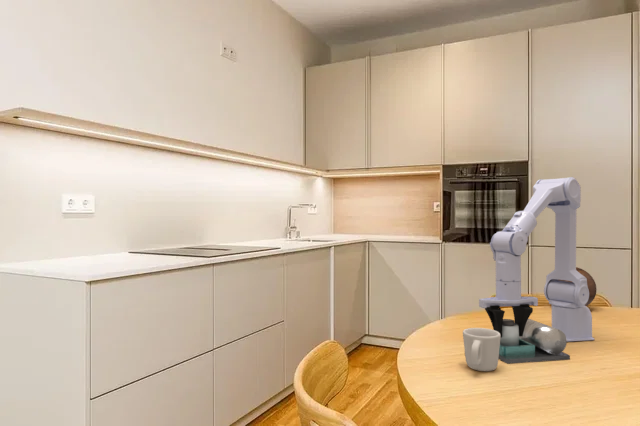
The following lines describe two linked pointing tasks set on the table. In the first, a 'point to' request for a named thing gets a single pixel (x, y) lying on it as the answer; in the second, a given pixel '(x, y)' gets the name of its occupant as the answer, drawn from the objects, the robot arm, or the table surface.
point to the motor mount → (536, 345)
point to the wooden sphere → (588, 284)
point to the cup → (481, 348)
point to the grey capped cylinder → (509, 333)
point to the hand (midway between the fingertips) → (508, 335)
